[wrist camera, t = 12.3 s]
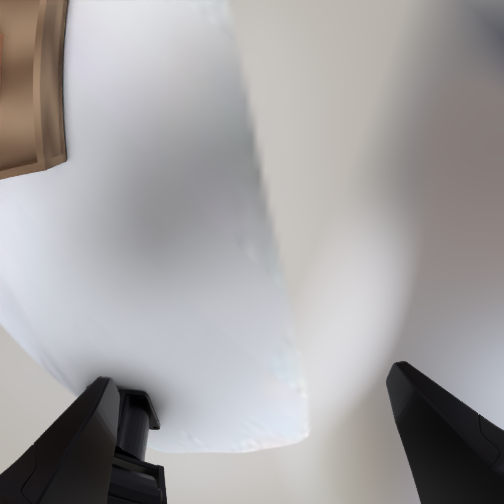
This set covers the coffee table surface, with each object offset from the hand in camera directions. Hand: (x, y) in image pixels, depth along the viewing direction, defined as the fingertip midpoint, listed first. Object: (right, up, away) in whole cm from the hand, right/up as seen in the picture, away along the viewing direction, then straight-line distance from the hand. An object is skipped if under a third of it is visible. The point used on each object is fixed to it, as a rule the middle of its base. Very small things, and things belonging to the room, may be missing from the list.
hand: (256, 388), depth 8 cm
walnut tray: (-19, +16, +3) cm, 25 cm away
